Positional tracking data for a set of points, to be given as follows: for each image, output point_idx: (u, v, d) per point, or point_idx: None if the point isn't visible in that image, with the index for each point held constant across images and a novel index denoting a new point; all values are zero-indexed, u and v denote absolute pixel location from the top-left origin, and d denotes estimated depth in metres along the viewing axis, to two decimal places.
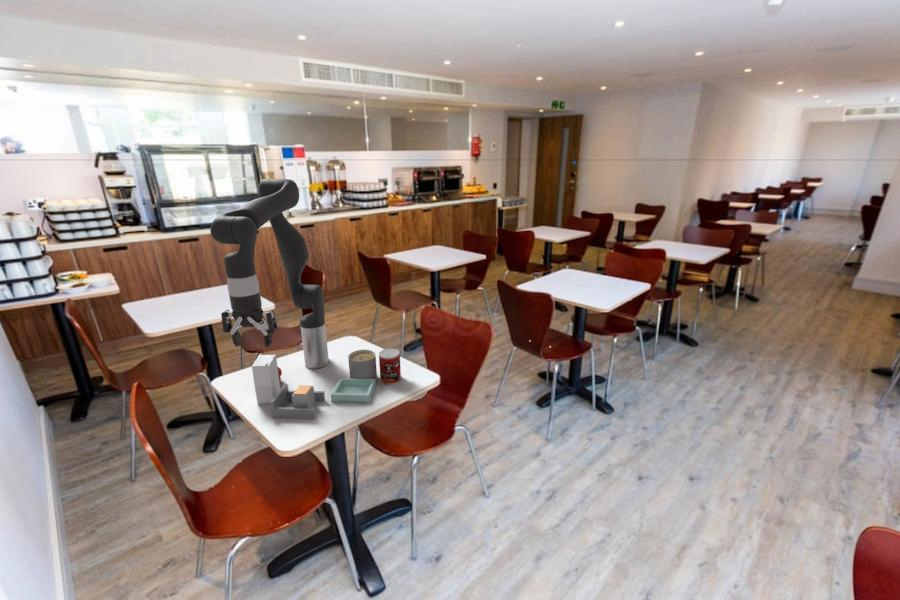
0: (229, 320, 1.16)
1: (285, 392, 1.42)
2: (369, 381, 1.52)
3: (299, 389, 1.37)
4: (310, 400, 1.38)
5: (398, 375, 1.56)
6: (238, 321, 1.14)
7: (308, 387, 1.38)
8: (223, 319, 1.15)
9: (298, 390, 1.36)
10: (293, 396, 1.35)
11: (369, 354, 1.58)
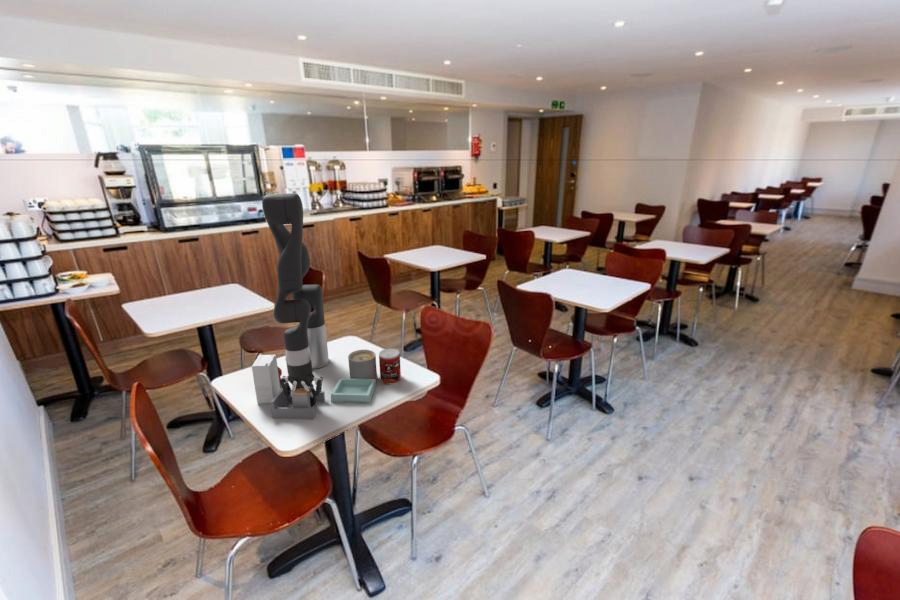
0: (287, 384, 1.37)
1: None
2: (369, 381, 1.52)
3: (299, 389, 1.37)
4: None
5: (398, 375, 1.56)
6: (294, 385, 1.35)
7: None
8: (282, 385, 1.36)
9: (298, 390, 1.36)
10: (293, 396, 1.35)
11: (369, 354, 1.58)
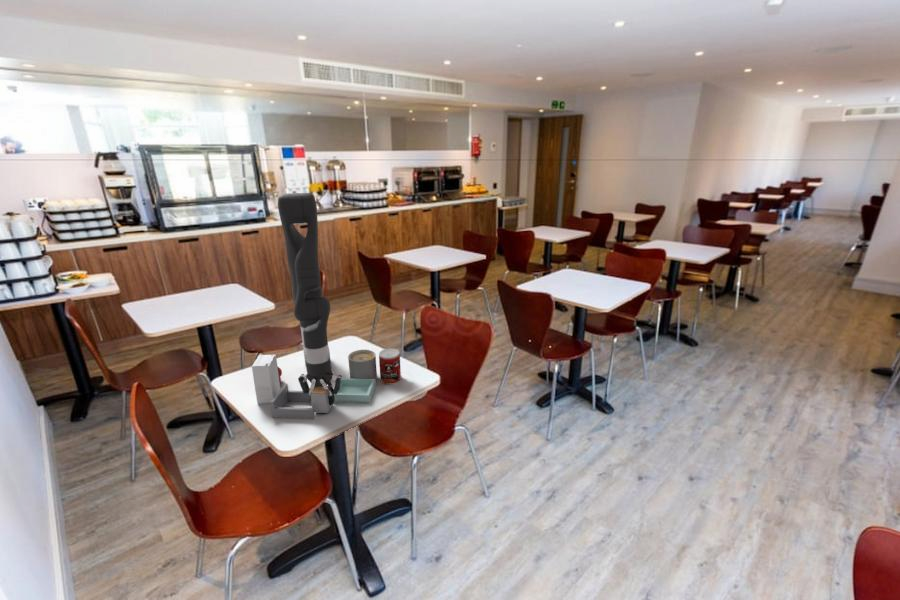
0: (305, 382, 1.36)
1: (285, 392, 1.42)
2: (369, 381, 1.52)
3: (317, 387, 1.36)
4: None
5: (398, 375, 1.56)
6: (313, 383, 1.34)
7: None
8: (301, 383, 1.35)
9: (317, 388, 1.36)
10: (312, 394, 1.34)
11: (369, 354, 1.58)
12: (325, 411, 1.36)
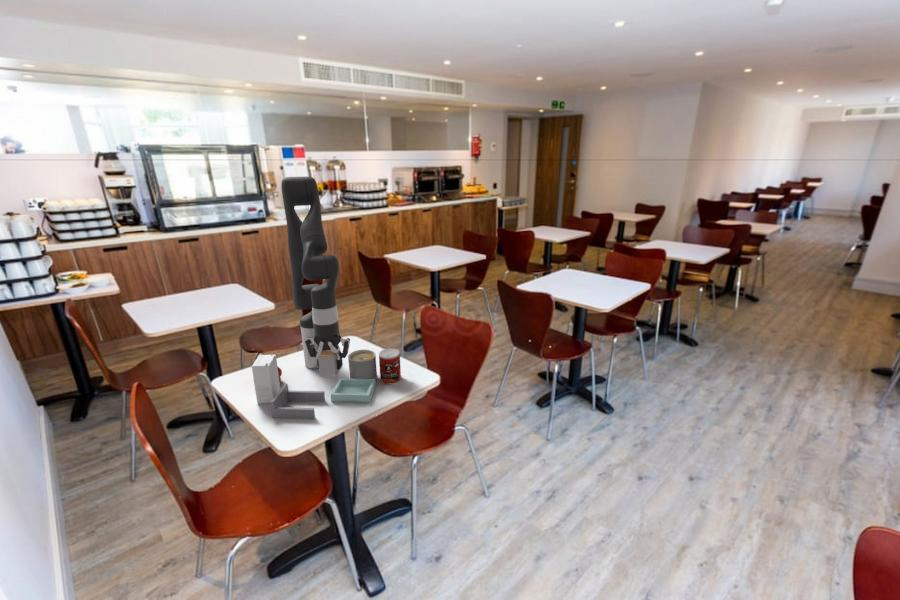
0: (312, 346, 1.32)
1: (285, 392, 1.42)
2: (369, 381, 1.52)
3: (325, 351, 1.32)
4: None
5: (398, 375, 1.56)
6: (320, 346, 1.30)
7: None
8: (308, 346, 1.31)
9: (324, 352, 1.32)
10: (319, 357, 1.30)
11: (369, 354, 1.58)
12: (333, 375, 1.32)
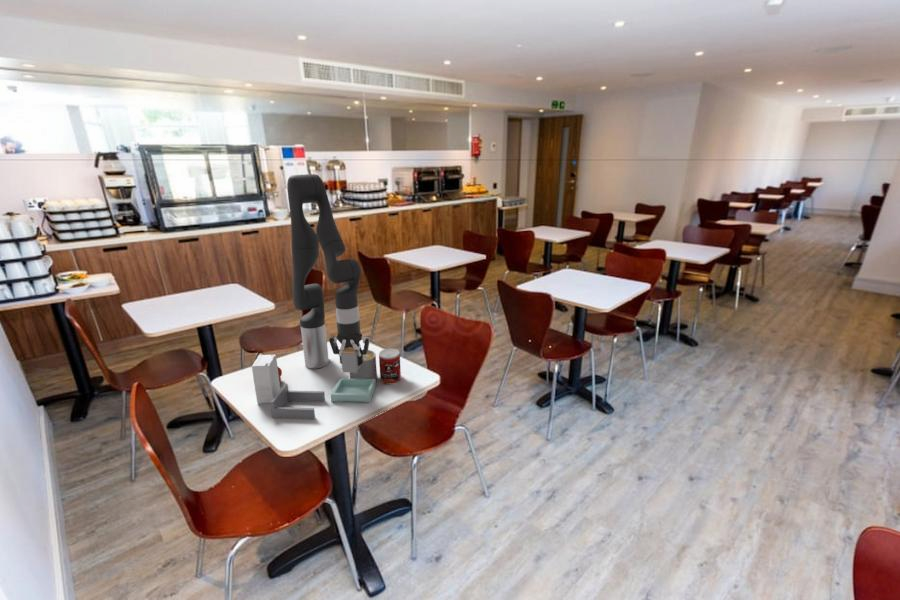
0: (335, 344, 1.43)
1: (285, 392, 1.42)
2: (369, 381, 1.52)
3: (347, 348, 1.43)
4: None
5: (398, 375, 1.56)
6: (343, 343, 1.40)
7: None
8: (331, 344, 1.41)
9: (346, 349, 1.42)
10: (342, 354, 1.40)
11: (369, 354, 1.58)
12: (355, 371, 1.42)
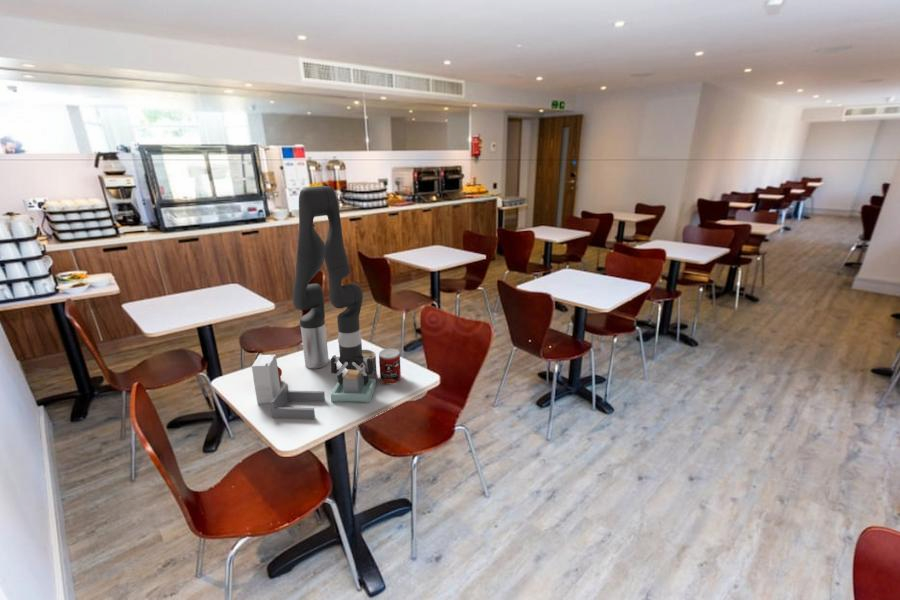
0: (335, 363, 1.45)
1: (285, 392, 1.42)
2: (369, 381, 1.52)
3: (349, 373, 1.46)
4: (359, 383, 1.47)
5: (398, 375, 1.56)
6: (344, 365, 1.43)
7: (357, 371, 1.47)
8: (332, 363, 1.43)
9: (348, 374, 1.45)
10: (344, 379, 1.43)
11: (369, 354, 1.58)
12: None
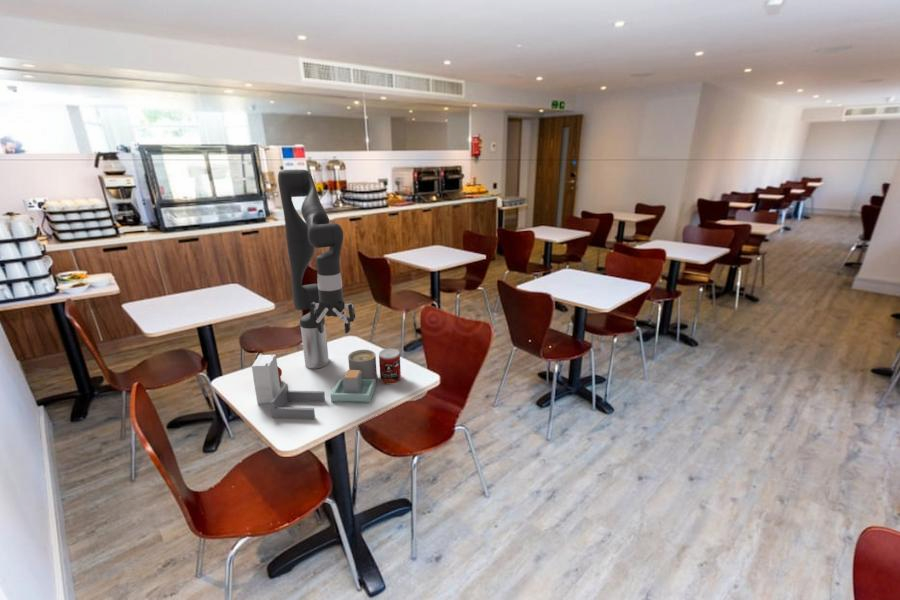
0: (315, 310, 1.38)
1: (285, 392, 1.42)
2: (369, 381, 1.52)
3: (349, 373, 1.46)
4: (359, 383, 1.47)
5: (398, 375, 1.56)
6: (324, 311, 1.35)
7: (357, 371, 1.47)
8: (311, 310, 1.36)
9: (348, 374, 1.45)
10: (344, 379, 1.43)
11: (369, 354, 1.58)
12: None
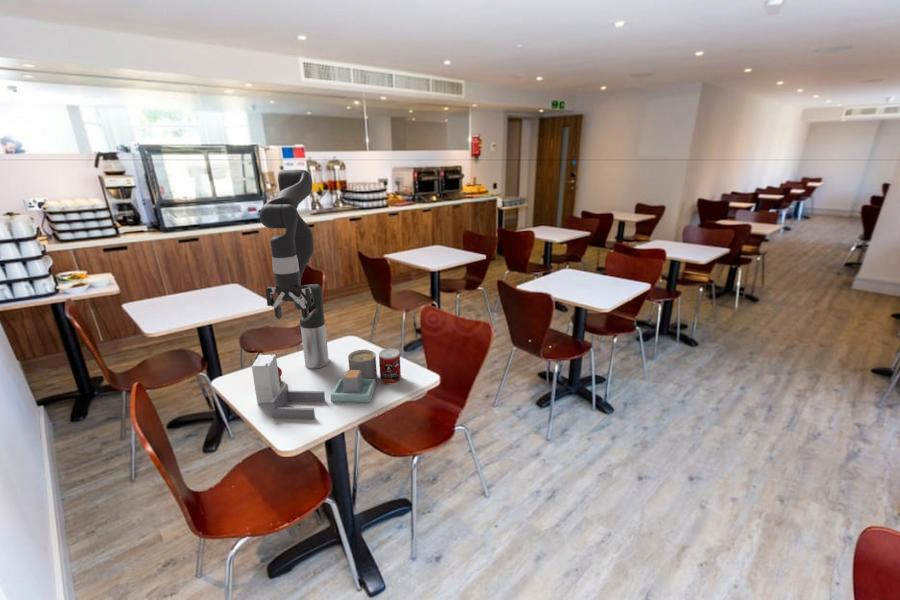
0: (272, 295, 1.34)
1: (285, 392, 1.42)
2: (369, 381, 1.52)
3: (349, 373, 1.46)
4: (359, 383, 1.47)
5: (398, 375, 1.56)
6: (280, 296, 1.31)
7: (357, 371, 1.47)
8: (267, 294, 1.32)
9: (348, 374, 1.45)
10: (344, 379, 1.43)
11: (369, 354, 1.58)
12: None
